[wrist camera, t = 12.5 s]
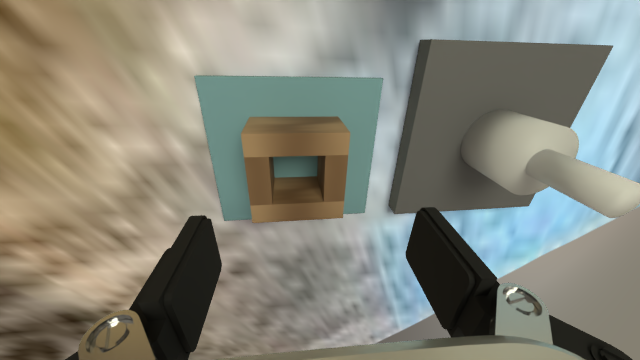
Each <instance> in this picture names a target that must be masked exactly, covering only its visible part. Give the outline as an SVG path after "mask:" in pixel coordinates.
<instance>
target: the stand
mask: <svg viewBox="0 0 640 360" xmlns="http://www.w3.org/2000/svg"><path fill="white" fill-rule="evenodd" d="M612 48H613V46H608V45H579V44H549V43H520V42H491V41H462V40H432V39H431V40H420V45H419V50H418V56H417V61H416V66H415V71H414V76H413V81H412V87H411V92H410V97H409V102H408V107H407V112H406V118H405V123H404V128H403V133H402V138H401V144H400V149H399V154H398V159H397V164H396V169H395V175H394V180H393V185H392V190H391V195H390V200H389V206H390V208H391V209H392V211H393V212H394V214H403V213H417V211H420V209H421V208H423V207H435V208H436V209H437V210H438V211H454V210H472V209H489V208H506V207H523V206H529V204H530V203H531V201H532V199H533V197H534V195H535V193H537V192H539V191H542V190H544V189H546V188H547V187H549V186H550V187H552V188H553V189H555V190H557V191H559V192H561V193H563V194H565V195H567V196H569V197H571V198H572V199H574V200H576V201H578V202H580V203H582V204H584V205H586V206H588V207H589V208H591V209H593V210H595V211H597V212H599V213H601V214H603V215H605V216H607V217H609V218H616V217H620V216H623V215H625V214H627V213H629V212H630V211H632V210H633V209H634V208H636V207H637V206H638V205H639V204H640V183H637V182H634V181H632V180H629V179H627V178H624V177H621V176H619V175H616V174H614V173H611V172H608V171H606V170H603V169H601V168H598V167H595V166H593V165H590V164H588V163H585V162H582V161H580V160H577V159H575V157H576V155H577V152H578V147H579V140H578V136H577V134H576V133H575V132H574V131H573V130H572V129H570V127H571V125H572V123H573V121H574V119H575V118H576V116H577V114H578V112H579V110H580V108H581V106H582V104H583V102H584V101H585V99H586V97H587V95H588V93H589V91H590V89H591V87H592V85H593V84H594V82H595V80H596V78H597V76H598V74H599V72H600V70H601V68H602V67H603V65H604V63H605V61H606V59H607V57H608V55H609V53H610V51H611V50H612Z"/></svg>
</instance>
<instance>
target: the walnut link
mask: <svg viewBox="0 0 640 360" xmlns="http://www.w3.org/2000/svg"><path fill="white" fill-rule="evenodd" d="M241 140H242V147H243V155H244V162H245V170H246V177H247V185H248V192H249V200H250V207H251V215H252V222H253V223H261V222H279V221H296V220H314V219H332V218H343V209H344V198H345V187H346V176H347V165H348V154H349V143H350V131H349V130H348V129H347V127H346V126H345V125H344V123H343V122H342V121H341V120H340V118H339V117H338V116H333V117H249V119H248V121H247V123H246V125H245V127H244V128H243V130H242V132H241ZM283 156H318V165H317V176H308V177H279V178H275V176H274V162H273V157H283Z"/></svg>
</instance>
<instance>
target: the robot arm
mask: <svg viewBox="0 0 640 360" xmlns="http://www.w3.org/2000/svg"><path fill="white" fill-rule="evenodd" d="M406 259H407V261H408V263H409V265H410V267H411V268H412V270H413V272H414V274H415V276H416V278H417V280H418V282H419V284H420V286H421V287H422V289H423V291H424V293H425V295H426V297H427V299H428V301H429V303H430V305H431V306H432V308H433V310H434V312H435V314H436V316H437V318H438V320H439V322H440V324H441V325H442V327H443V328H444V329H447V331H448V332H449V334H450V336H451V338H440V339H428V340H416V341H405V342H393V343H381V344H370V345H359V346H348V347H337V348H326V349H315V350H304V351H294V352H284V353H273V354H263V355H253V356H243V357H233V358H224V359H216V360H632V359H631V358H630V357H629V356H627V355H626V354H624V353H623V352H622V351H620V350H618V349H617V348H615V347H613V346H612V345H610V344H607V343H606V342H604V341H602V340H600V339H598V338H595V337H593V336H591V335H589V334H587V333H585V332H583V331H581V330H579V329H577V328H575V327H573V326H571V325H569V324H567V323H565V322H563V321H561V320H559V319H557V318H555V317H553V316H551V315H549V314H548V310H547V307H546V306H545V304H544V303H543V301H542V300H541V299H540V298H538V296H536V295H535V294H534V293H532V292H531V291H529V290H528V289H526V288H524V287H522V286H519V285H516V284H512V283H504V284H501V285H500V284H499V283H498V282H497V277H496V276H495V275H494V274H493V273H492V272H491V271H490V269H489V268H488V267H487V266H486V265H485V264H484V263H483V261H482V260H481V259H480V258H479V257H478V256H477V254H476V253H475V252H474V251H473V250H472V249H471V248H470V246H469V245H468V244H467V243H466V242H465V241H464V240H463V238H462V237H461V236H460V235H459V234H458V233H457V232H456V230H455V229H454V228H453V227H452V226H451V225H450V223H449V222H448V221H447V220H446V219H445V218H444V217H443V215H442V214H441V213H440V212H439V211H438V210H437V209H436V208H435V207H423V208H421V209H420V211H417V213H416V217H415V220H414V224H413V228H412V231H411V235H410V239H409V242H408V246H407V250H406ZM221 266H222V263H221V259H220V254H219V250H218V246H217V242H216V238H215V234H214V230H213V226H212V222H211V219H207V217H206V216H190V217H189V219H188V220H187V222H186V224H185V225H184V227H183V229H182V230H181V232H180V234H179V235H178V237H177V239H176V240H175V242H174V244H173V245H172V247H171V248H169V249H167V250H166V251H165V252H164V254H163V255H162V257H161V259H160V260H159V262H158V264H157V265H156V267H155V268H154V270H153V272H152V273H151V275H150V276H149V278H148V280H147V281H146V283H145V285H144V286H143V288H142V289H141V291H140V293H139V294H138V296H137V297H136V299H135V301H134V302H133V304H132V306H131V307H130V309H129V310H122V311H118V312H114V313H112V314H110V315H107V316H105V317H104V318H102V319H101V320H99V321H98V322H96V323H95V324H94V325H93V326H92V327H91V328H90V329H89V330H88V331H87V332H86V334H85V335H84V336H83V337H82V339H81V342H80V344H79V348H78V352H76V353H75V354H73V355H72V356H70V357H68V358H67V359H65V360H188V358H189V355H190V352H194V351H195V349H196V347H197V344H198V341H199V337H200V334H201V331H202V328H203V325H204V322H205V319H206V316H207V312H208V309H209V306H210V303H211V300H212V297H213V294H214V291H215V287H216V284H217V281H218V278H219V275H220V272H221ZM464 336H465V337H464Z"/></svg>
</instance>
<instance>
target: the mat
mask: <svg viewBox="0 0 640 360" xmlns="http://www.w3.org/2000/svg"><path fill="white" fill-rule="evenodd" d="M194 77H195V82H196V86H197V91H198V96H199V101H200V106H201V111H202V115H203V120H204V125H205V130H206V135H207V140H208V144H209V149H210V154H211V159H212V164H213V169H214V173H215V178H216V183H217V188H218V193H219V198H220V202H221V207H222V212H223V217H224V221H229V220H247V219H252V215H251V207H250V200H249V192H248V185H247V177H246V170H245V162H244V155H243V147H242V140H241V132H242V130H243V128H244V127H245V125H246V123H247V121H248V119H249V117H333V116H338V117H339V118H340V120H341V121H342V122H343V123H344V125H345V126H346V127H347V129H348V130H349V131H350V143H349V154H348V165H347V176H346V187H345V198H344V209H343V214H352V213H365V206H366V199H367V191H368V184H369V177H370V170H371V162H372V155H373V148H374V141H375V134H376V126H377V119H378V112H379V105H380V97H381V90H382V83H383V78H347V77H271V76H194ZM273 162H274V176H275V178H279V177H308V176H317V165H318V156H283V157H273Z"/></svg>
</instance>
